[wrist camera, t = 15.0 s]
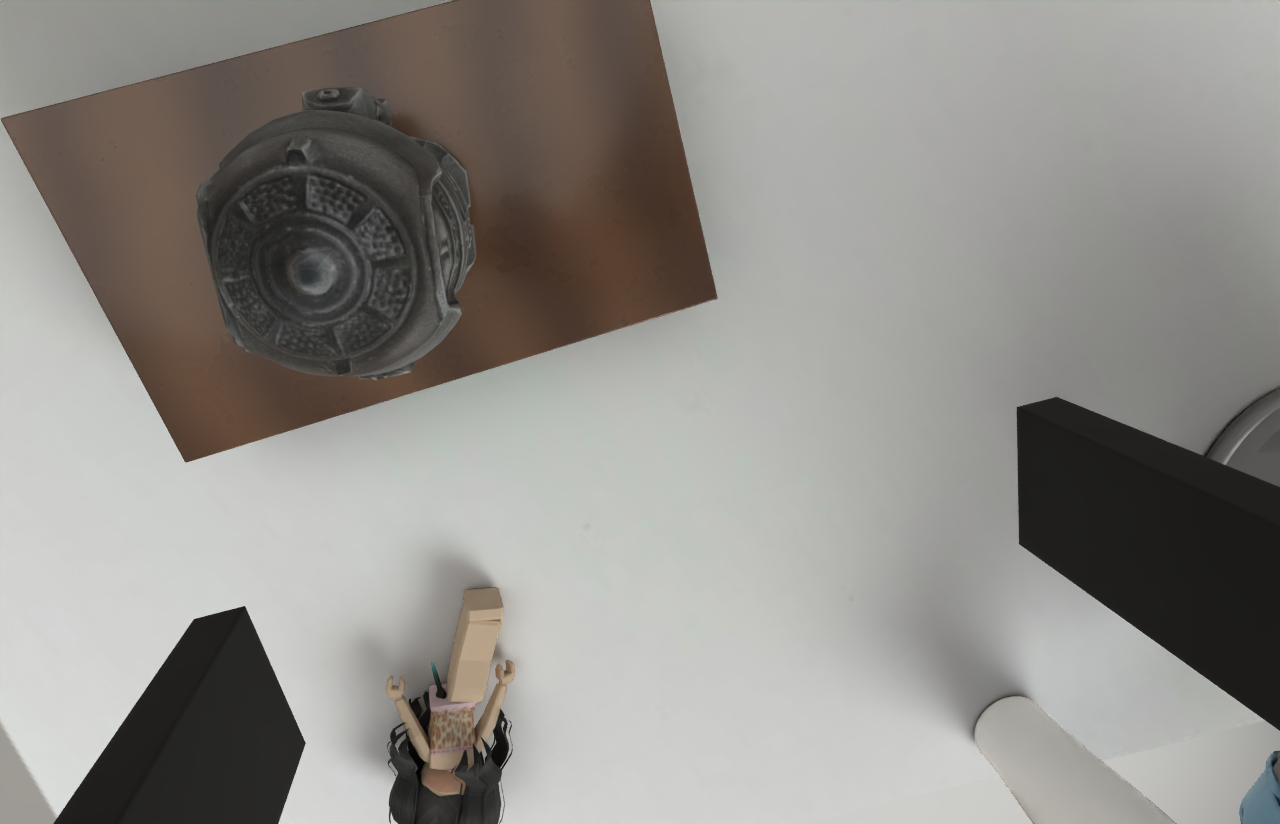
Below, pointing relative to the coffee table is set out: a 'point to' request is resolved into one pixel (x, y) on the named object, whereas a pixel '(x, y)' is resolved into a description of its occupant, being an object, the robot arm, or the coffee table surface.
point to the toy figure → (454, 729)
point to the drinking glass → (1056, 770)
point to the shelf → (423, 108)
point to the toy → (338, 239)
